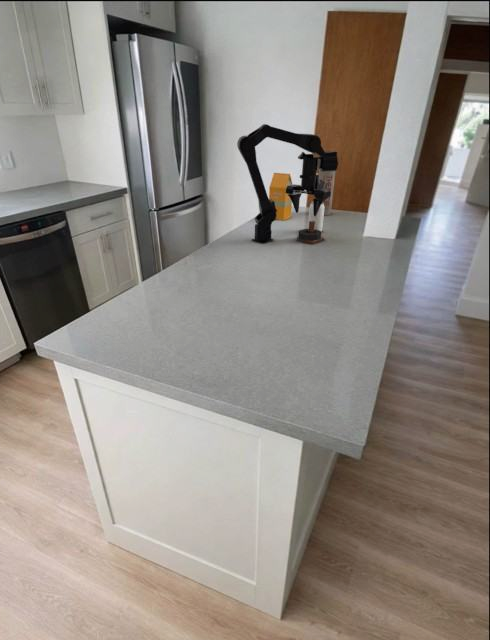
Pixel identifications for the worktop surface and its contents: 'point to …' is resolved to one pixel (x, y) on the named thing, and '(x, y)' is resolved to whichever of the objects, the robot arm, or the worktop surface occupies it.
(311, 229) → the copper peg on plate
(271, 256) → the worktop surface
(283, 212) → the orange juice
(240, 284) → the worktop surface
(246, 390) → the worktop surface
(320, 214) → the can
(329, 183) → the thermos bottle
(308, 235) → the rubber ring
